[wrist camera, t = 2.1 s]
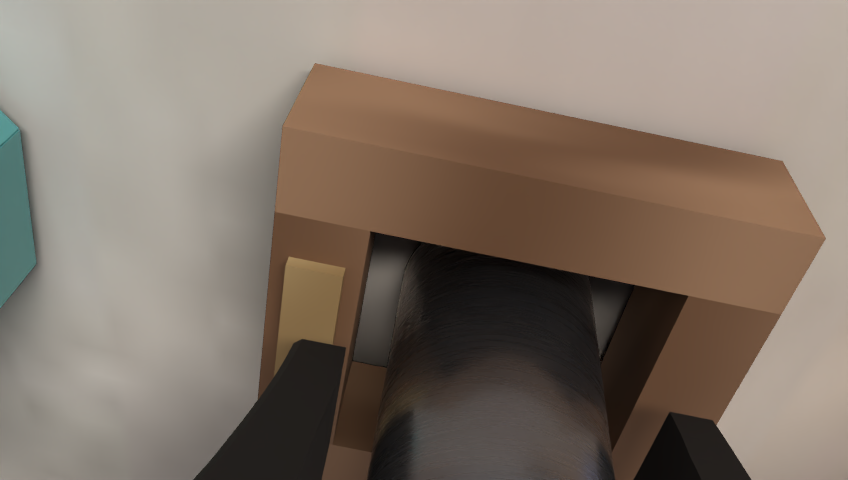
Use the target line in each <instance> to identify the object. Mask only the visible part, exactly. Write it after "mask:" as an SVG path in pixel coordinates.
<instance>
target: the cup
mask: <svg viewBox="0 0 848 480" xmlns="http://www.w3.org/2000/svg"><path fill="white" fill-rule="evenodd" d="M18 129H19V128H18V127H17V126H16V125H15V124H14V123H13V122H12V121H11V120H10V119H9V118H8V117H7V116H6V115H5V114H4V113H3V112H2V111H1V110H0V308H1V307H2V306H3V304H4V303H5V302H6V301H7V300H8V298H9V297H10V296H11V295H12V293H13V292H14V291H15V290H16V288H17V287H18V286H19V285H20V284H21V282H22V281H23V280H24V279H25V277H26V276H27V275H28V274H29V272H30V271H31V270H32V269H33V268H34V266H35V265H36V256H35V248H34V240H33V232H32V224H31V216H30V208H29V200H28V192H27V183H26V175H25V167H24V159H23V151H22V143H21V135H20V130H18Z"/></svg>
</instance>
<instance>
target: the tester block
mask: <svg viewBox="0 0 848 480" xmlns="http://www.w3.org/2000/svg"><path fill="white" fill-rule="evenodd" d="M376 232H377V233H382V234H387V235H392V236H397V237H401V238H406V239H411V240H416V241H421V242H426V243H431V244H436V245H441V246H446V247H451V248H456V249H461V250H465V251H470V252H475V253H480V254H485V255H490V256H495V257H500V258H505V259H510V260H515V261H520V262H525V263H529V264H534V265H539V266H544V267H549V268H554V269H559V270H564V271H569V272H574V273H579V274H584V275H589V276H594V277H598V278H603V279H608V280H613V281H618V282H623V283H628V284H633V285H635V287H634V289H633V292H632V294H631V296H630V299H629V301H628V303H627V306H626V308H625V310H624V312H623V315H622V317H621V319H620V322H619V324H618V326H617V329H616V331H615V333H614V335H613V338H612V340H611V342H610V345H609V347H608V349H607V352H606V354H605V356H604V358H603V361H602V363H601V373H602V381H603V388H604V396H605V404H606V412H607V419H608V427H609V435H610V443H611V450H612V458H613V466H614V474H615V480H634V478H635V476H636V474H637V472H638V470H639V469H640V467H641V465H642V463H643V461H644V459H645V457H646V455H647V453H648V451H649V450H650V448H651V446H652V444H653V442H654V440H655V438H656V436H657V434H658V433H659V431H660V429H661V427H662V425H663V423H664V421H665V419H666V417H667V416H668V414H669V412H674V413H679V414H684V415H689V416H694V417H699V418H705V419H710V420H713V421H714V423H715V424H716V425H717V423H718V421H719V420H720V418H721V416H722V414H723V413H724V411H725V409H726V408H727V406H728V404H729V402H730V401H731V399H732V397H733V396H734V394H735V392H736V391H737V389H738V387H739V385H740V384H741V382H742V380H743V379H744V377H745V375H746V374H747V372H748V370H749V368H750V367H751V365H752V363H753V362H754V360H755V358H756V356H757V355H758V353H759V351H760V350H761V348H762V346H763V345H764V343H765V341H766V339H767V338H768V336H769V334H770V333H771V331H772V329H773V328H774V326H775V324H776V322H777V321H778V319H779V317H780V316H781V314H782V312H783V310H784V309H785V307H786V305H787V304H788V302H789V300H790V299H791V297H792V295H793V293H794V292H795V290H796V288H797V287H798V285H799V283H800V282H801V280H802V278H803V276H804V275H805V273H806V271H807V270H808V268H809V266H810V264H811V263H812V261H813V259H814V258H815V256H816V254H817V253H818V251H819V249H820V247H821V246H822V244H823V242H824V241H825V239H826V238H825V236H824V234H823V233H822V231H821V229H820V227H819V225H818V224H817V222H816V220H815V218H814V217H813V215H812V213H811V211H810V209H809V208H808V206H807V204H806V202H805V200H804V199H803V197H802V195H801V193H800V192H799V190H798V188H797V186H796V184H795V183H794V181H793V179H792V177H791V176H790V174H789V172H788V170H787V168H786V167H785V165H784V163H783V161H779V160H774V159H769V158H765V157H760V156H755V155H750V154H746V153H741V152H736V151H731V150H726V149H722V148H717V147H712V146H707V145H703V144H698V143H693V142H688V141H683V140H679V139H674V138H669V137H664V136H660V135H655V134H650V133H645V132H640V131H636V130H631V129H626V128H621V127H617V126H612V125H607V124H602V123H598V122H593V121H588V120H583V119H578V118H574V117H569V116H564V115H559V114H555V113H550V112H545V111H540V110H535V109H531V108H526V107H521V106H516V105H512V104H507V103H502V102H497V101H492V100H488V99H483V98H478V97H473V96H469V95H464V94H459V93H454V92H449V91H445V90H440V89H435V88H430V87H426V86H421V85H416V84H411V83H407V82H402V81H397V80H392V79H387V78H383V77H378V76H373V75H368V74H364V73H359V72H354V71H349V70H344V69H340V68H335V67H330V66H325V65H321V64H316V63H315V64H314V66H313V68H312V70H311V72H310V74H309V76H308V78H307V79H306V81H305V83H304V85H303V87H302V89H301V91H300V93H299V95H298V97H297V99H296V101H295V103H294V105H293V107H292V109H291V111H290V113H289V115H288V117H287V119H286V120H285V122H284V124H283V127H282V138H281V149H280V160H279V171H278V182H277V193H276V204H275V215H274V227H273V238H272V249H271V260H270V271H269V282H268V293H267V304H266V315H265V326H264V337H263V348H262V359H261V370H260V381H259V392H258V399H259V398H260V396H261V395H262V394H263V392H264V391H265V389H266V388H267V386H268V385H269V383H270V382H271V380H272V379H273V377H274V376H275V374H276V373H277V371H278V370H279V368H280V366H281V365H282V363H283V361H284V360H285V358H286V356H287V354H288V353H289V351H290V349H291V347H292V345H293V343H295V342H297V341H299V340H301V339H306V340H311V341H316V342H321V343H326V344H331V345H336V346H341V347H346V351H345V357H344V363H343V369H342V374H341V380H340V386H339V392H338V397H337V403H336V409H335V415H334V420H333V426H332V432H331V438H330V443H329V448H328V453H327V457H326V462H325V466H324V471H323V475H322V480H366V479H367V474H368V468H369V463H370V457H371V452H372V446H373V441H374V435H375V430H376V424H377V419H378V413H379V408H380V402H381V397H382V391H383V386H384V380H385V375H386V369H387V368H385V367H380V366H374V365H369V364H364V363H359V362H354V361H352V359H353V354H354V348H355V343H356V337H357V332H358V326H359V321H360V315H361V310H362V304H363V299H364V293H365V288H366V282H367V277H368V271H369V266H370V260H371V255H372V249H373V244H374V238H375V233H376Z"/></svg>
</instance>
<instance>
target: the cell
mask: <svg viewBox="0 0 848 480" xmlns="http://www.w3.org/2000/svg"><path fill="white" fill-rule="evenodd" d="M366 480H615V474H614V466H613V458H612V450H611V443H610V435H609V427H608V419H607V412H606V404H605V396H604V388H603V381H602V373H601V365H600V357H599V350H598V342H597V334H596V326H595V318H594V311H593V303H592V295H591V287H590V281H589V276H588V275H584V274H579V273H574V272H569V271H564V270H559V269H554V268H549V267H544V266H539V265H534V264H529V263H525V262H520V261H515V260H510V259H505V258H500V257H495V256H490V255H485V254H480V253H475V252H470V251H465V250H461V249H456V248H451V247H446V246H441V245H436V244H431V243H426V242H423V243H422V244H421V245H420V246H419V247H418V248H417V249H416V250H415V252H414V253H413V255H412V256H411V258H410V260H409V262H408V264H407V266H406V269H405V272H404V276H403V282H402V287H401V292H400V298H399V303H398V309H397V314H396V320H395V325H394V331H393V336H392V342H391V347H390V353H389V358H388V364H387V369H386V375H385V380H384V386H383V391H382V397H381V402H380V408H379V413H378V419H377V424H376V430H375V435H374V441H373V446H372V452H371V457H370V463H369V468H368V474H367V479H366Z"/></svg>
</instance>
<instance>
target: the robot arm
mask: <svg viewBox="0 0 848 480" xmlns="http://www.w3.org/2000/svg"><path fill="white" fill-rule="evenodd" d="M345 351H346V347H341V346H336V345H331V344H326V343H321V342H316V341H311V340H306V339H301V340H299V341H297V342H295V343H293V345H292V347H291V349H290V351H289V353H288V354H287V356H286V358H285V360H284V361H283V363H282V365H281V366H280V368H279V370H278V371H277V373H276V374H275V376H274V377H273V379H272V380H271V382H270V383H269V385H268V386H267V388H266V389H265V391H264V392H263V394H262V395H261V396H260V398H259V399H258V401H257V402H256V403H255V405H254V406H253V407H252V409H251V410H250V412H249V413H248V414H247V415H246V417H245V418H244V419H243V421H242V422H241V423H240V424H239V426H238V427H237V428H236V429H235V431H234V432H233V433H232V434H231V436H230V437H229V438H228V440H227V441H226V442H225V443H224V445H223V446H222V447H221V448H220V450H219V451H218V452H217V453H216V454H215V456H214V457H213V458H212V459H211V460H210V462H209V463H208V464H207V465H206V466H205V467H204V468H203V469H202V471H201V472H200V473H199V474H198V475H197V476H196V477H195V478H194V480H322V475H323V471H324V466H325V462H326V457H327V453H328V448H329V443H330V438H331V432H332V426H333V420H334V415H335V409H336V403H337V397H338V392H339V386H340V380H341V374H342V369H343V363H344V357H345ZM634 480H751V478H750V477H749V475H748V474H747V472H746V471H745V469H744V468H743V466H742V464H741V463H740V461H739V460H738V458H737V457H736V455H735V454H734V452H733V450H732V449H731V447H730V446H729V444H728V443H727V441H726V440H725V438H724V437H723V435H722V433H721V432H720V430H719V429H718V427H717V426H716V424H715V423H714V421H713V420H710V419H705V418H699V417H694V416H689V415H684V414H679V413H674V412H669V414H668V416H667V417H666V419H665V421H664V423H663V425H662V427H661V429H660V431H659V433H658V434H657V436H656V438H655V440H654V442H653V444H652V446H651V448H650V450H649V451H648V453H647V455H646V457H645V459H644V461H643V463H642V465H641V467H640V469H639V470H638V472H637V474H636V476H635V478H634Z"/></svg>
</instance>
